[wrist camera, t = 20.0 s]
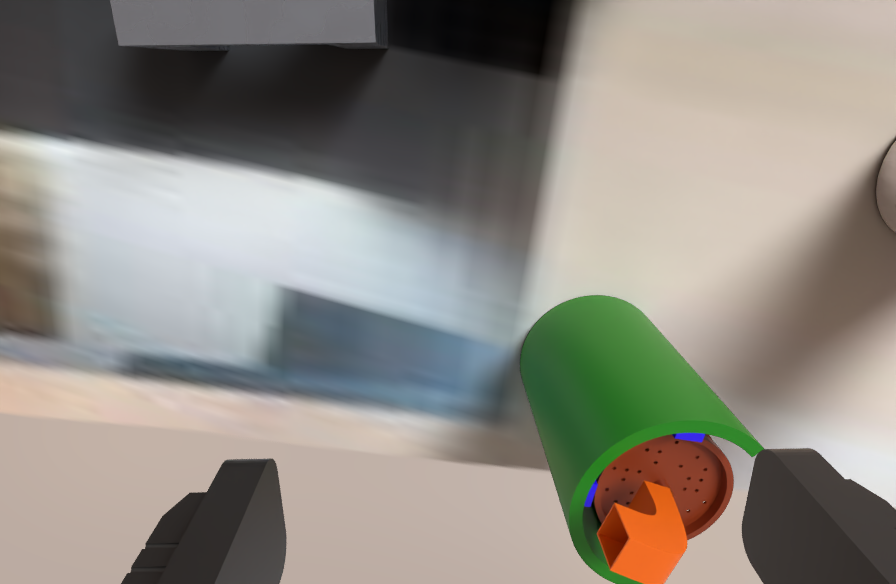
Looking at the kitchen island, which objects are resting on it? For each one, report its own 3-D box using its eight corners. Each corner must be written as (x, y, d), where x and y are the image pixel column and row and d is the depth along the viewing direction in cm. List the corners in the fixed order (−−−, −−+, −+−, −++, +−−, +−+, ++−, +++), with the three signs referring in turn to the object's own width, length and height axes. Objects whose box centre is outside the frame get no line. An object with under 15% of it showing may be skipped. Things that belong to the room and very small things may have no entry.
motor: (620, 426, 45) (751, 681, 26) (506, 409, 44) (557, 657, 25) (661, 305, 41) (847, 498, 23) (538, 283, 41) (625, 465, 22)
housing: (174, -25, 34) (100, -52, 26) (385, -27, 34) (370, -55, 26) (186, 51, 35) (119, 45, 28) (388, 48, 35) (375, 42, 28)
